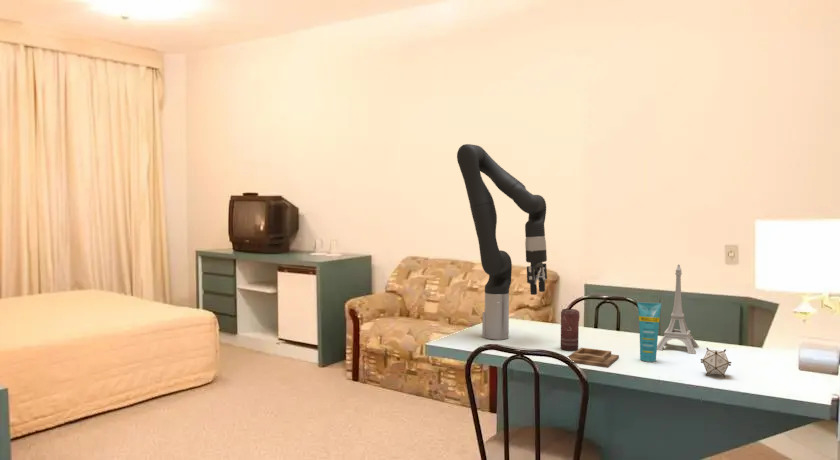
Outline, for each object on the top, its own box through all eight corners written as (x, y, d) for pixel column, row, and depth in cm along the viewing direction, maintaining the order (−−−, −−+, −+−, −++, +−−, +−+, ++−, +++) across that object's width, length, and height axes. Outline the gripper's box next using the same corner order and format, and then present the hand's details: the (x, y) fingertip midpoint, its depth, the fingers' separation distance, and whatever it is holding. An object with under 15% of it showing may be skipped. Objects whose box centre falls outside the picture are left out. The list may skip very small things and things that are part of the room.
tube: (636, 361, 207) (637, 302, 206) (636, 357, 212) (637, 300, 211) (660, 363, 205) (661, 304, 204) (659, 359, 209) (661, 301, 209)
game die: (707, 386, 192) (689, 356, 196) (733, 376, 192) (714, 346, 197) (716, 379, 184) (697, 348, 188) (743, 368, 184) (723, 337, 189)
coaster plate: (564, 361, 206) (564, 354, 206) (577, 352, 218) (577, 345, 218) (607, 367, 199) (607, 359, 199) (618, 358, 211) (618, 350, 211)
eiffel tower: (659, 342, 235) (661, 262, 234) (699, 346, 229) (700, 264, 227) (654, 350, 223) (656, 265, 222) (695, 354, 217) (697, 267, 216)
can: (579, 351, 220) (580, 311, 220) (560, 350, 221) (561, 310, 221) (578, 347, 226) (579, 308, 226) (560, 346, 227) (560, 308, 227)
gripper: (533, 248, 241) (535, 290, 241) (518, 250, 228) (521, 295, 229) (552, 247, 237) (554, 291, 237) (538, 250, 225) (541, 295, 225)
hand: (538, 293), depth 233 cm, fingers open, 8 cm apart
